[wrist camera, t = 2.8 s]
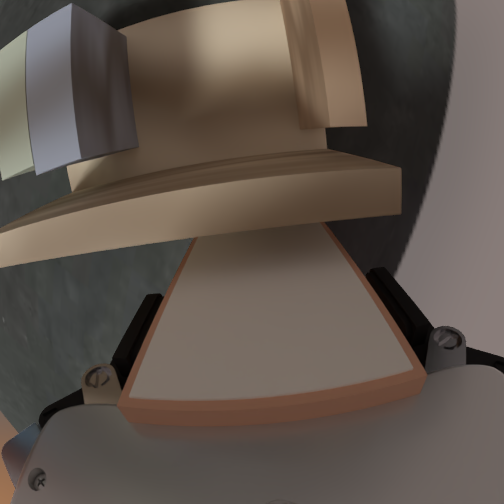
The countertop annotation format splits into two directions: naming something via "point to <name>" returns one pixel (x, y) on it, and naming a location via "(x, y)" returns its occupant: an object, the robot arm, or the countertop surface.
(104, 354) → the countertop surface
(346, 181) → the shelf
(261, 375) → the tall pink rectangular prism
